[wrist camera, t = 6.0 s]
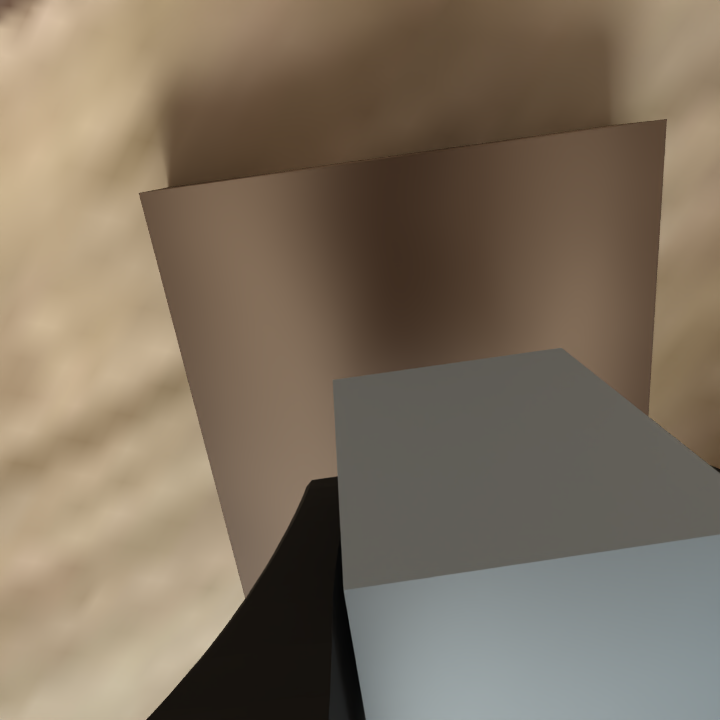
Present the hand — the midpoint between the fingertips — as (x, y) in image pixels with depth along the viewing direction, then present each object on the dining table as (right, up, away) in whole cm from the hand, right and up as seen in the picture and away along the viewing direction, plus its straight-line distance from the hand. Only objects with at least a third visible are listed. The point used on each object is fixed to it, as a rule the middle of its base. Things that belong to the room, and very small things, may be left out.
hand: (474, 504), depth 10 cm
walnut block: (0, +3, +7) cm, 8 cm away
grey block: (0, 0, +2) cm, 2 cm away
